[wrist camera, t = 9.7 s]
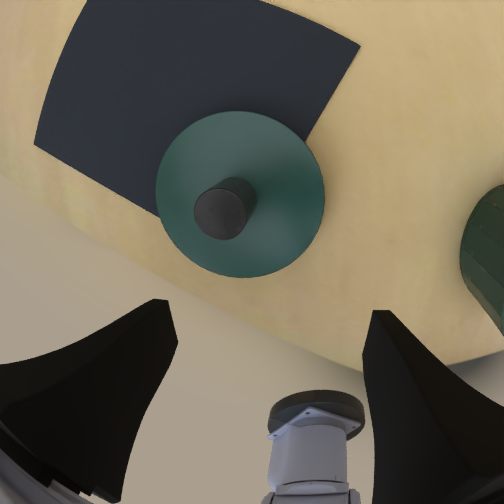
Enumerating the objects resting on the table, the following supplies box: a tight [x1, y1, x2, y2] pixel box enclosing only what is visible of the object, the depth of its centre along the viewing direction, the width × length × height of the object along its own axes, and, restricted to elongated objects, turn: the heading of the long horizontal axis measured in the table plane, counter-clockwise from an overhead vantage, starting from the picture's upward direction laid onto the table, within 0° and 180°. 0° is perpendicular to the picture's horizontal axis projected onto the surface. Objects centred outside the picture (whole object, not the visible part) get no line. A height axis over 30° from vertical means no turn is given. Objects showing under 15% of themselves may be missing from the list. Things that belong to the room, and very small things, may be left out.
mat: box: [34, 0, 361, 218], centre depth 15 cm, size 16×21×1 cm
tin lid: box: [155, 111, 325, 278], centre depth 15 cm, size 10×10×4 cm
